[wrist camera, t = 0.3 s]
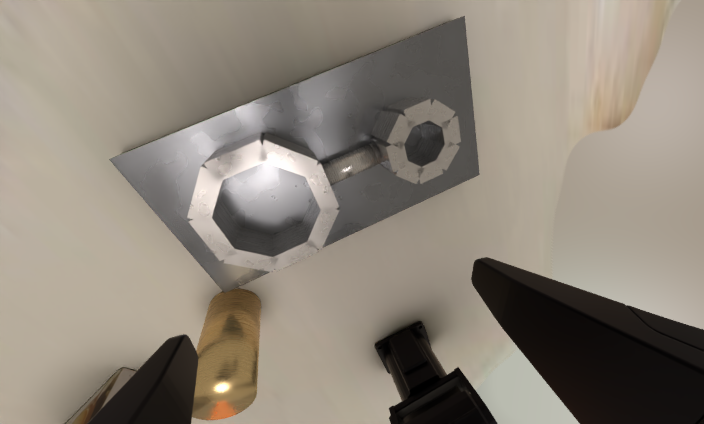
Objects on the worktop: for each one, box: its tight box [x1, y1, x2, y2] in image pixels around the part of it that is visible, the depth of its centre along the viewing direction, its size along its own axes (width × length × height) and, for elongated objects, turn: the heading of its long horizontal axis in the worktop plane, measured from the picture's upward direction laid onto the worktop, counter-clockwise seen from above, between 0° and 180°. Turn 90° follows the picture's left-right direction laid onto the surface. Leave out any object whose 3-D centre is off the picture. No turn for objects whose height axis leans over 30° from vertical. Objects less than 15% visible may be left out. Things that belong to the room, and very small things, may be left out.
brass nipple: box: [192, 289, 261, 420], centre depth 20 cm, size 4×4×8 cm
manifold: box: [109, 16, 479, 293], centre depth 18 cm, size 12×24×4 cm, turn 109°
